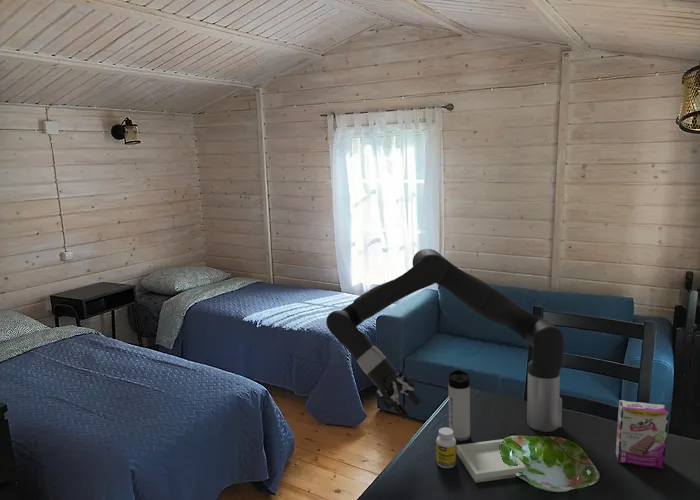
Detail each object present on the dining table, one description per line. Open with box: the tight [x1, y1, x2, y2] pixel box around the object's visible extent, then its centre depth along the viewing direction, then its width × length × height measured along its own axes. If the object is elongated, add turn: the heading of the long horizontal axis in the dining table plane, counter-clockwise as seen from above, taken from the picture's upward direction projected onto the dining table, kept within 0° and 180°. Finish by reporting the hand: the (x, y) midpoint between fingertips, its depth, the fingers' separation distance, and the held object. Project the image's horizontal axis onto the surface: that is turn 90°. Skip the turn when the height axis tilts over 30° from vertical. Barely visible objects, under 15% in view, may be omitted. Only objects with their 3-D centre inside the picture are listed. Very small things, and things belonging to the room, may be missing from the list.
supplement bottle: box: [435, 426, 457, 469], centre depth 143 cm, size 5×5×10 cm
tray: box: [456, 438, 527, 484], centre depth 142 cm, size 14×14×2 cm
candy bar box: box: [615, 399, 669, 470], centre depth 139 cm, size 11×5×16 cm, turn 71°
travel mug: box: [448, 369, 471, 442], centre depth 156 cm, size 6×7×20 cm
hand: (412, 410), depth 147 cm, fingers open, 8 cm apart
